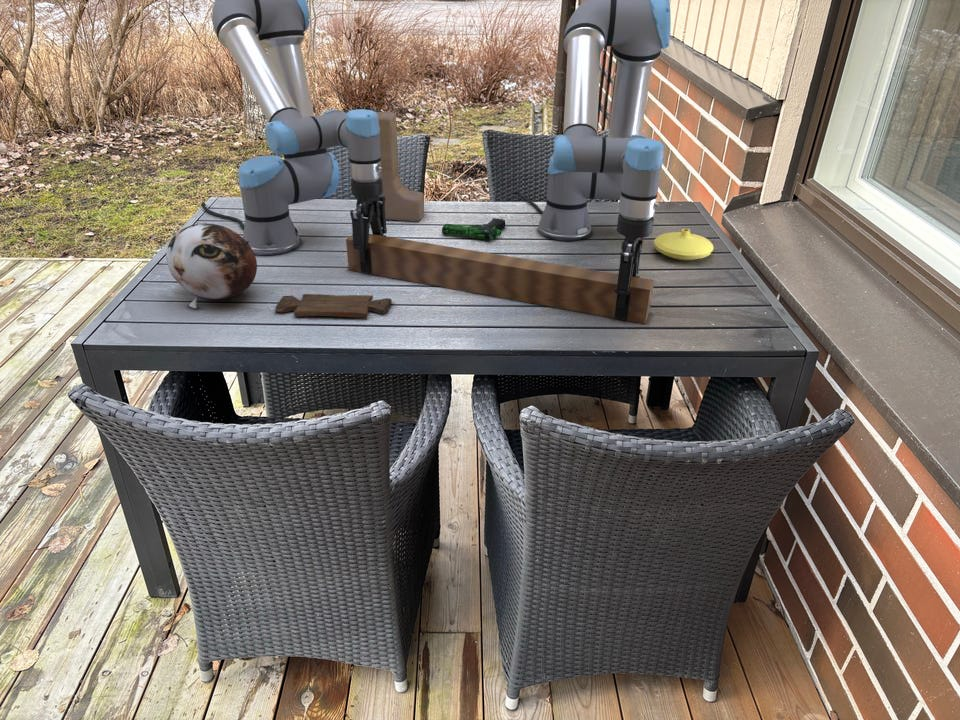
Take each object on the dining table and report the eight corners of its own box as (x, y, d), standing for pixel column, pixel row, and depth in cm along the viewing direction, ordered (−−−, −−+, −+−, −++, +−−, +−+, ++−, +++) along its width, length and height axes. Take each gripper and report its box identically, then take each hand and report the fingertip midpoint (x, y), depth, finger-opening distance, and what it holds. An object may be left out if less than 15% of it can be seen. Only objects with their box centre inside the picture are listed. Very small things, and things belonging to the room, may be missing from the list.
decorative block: (419, 222, 214) (416, 119, 199) (370, 219, 216) (364, 116, 200) (424, 214, 220) (422, 113, 205) (377, 211, 222) (371, 111, 207)
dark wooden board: (386, 320, 160) (392, 301, 168) (386, 314, 159) (392, 294, 168) (271, 316, 160) (283, 297, 169) (270, 309, 159) (282, 290, 168)
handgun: (511, 219, 210) (493, 234, 198) (511, 228, 211) (492, 244, 199) (461, 212, 215) (440, 226, 203) (461, 221, 217) (440, 236, 204)
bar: (348, 270, 183) (345, 238, 179) (359, 261, 187) (356, 231, 183) (645, 323, 160) (650, 289, 156) (649, 313, 164) (654, 279, 160)
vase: (666, 239, 204) (669, 216, 201) (720, 252, 197) (724, 228, 193) (642, 256, 193) (646, 231, 190) (698, 270, 185) (703, 245, 182)
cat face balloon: (130, 285, 161) (164, 203, 163) (192, 308, 177) (221, 233, 178) (195, 307, 151) (229, 220, 152) (254, 330, 166) (285, 250, 168)
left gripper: (360, 191, 163) (367, 284, 175) (398, 169, 178) (401, 256, 190) (332, 187, 165) (340, 279, 177) (371, 166, 180) (376, 252, 192)
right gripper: (646, 232, 143) (631, 333, 155) (661, 204, 158) (646, 298, 170) (609, 227, 145) (597, 327, 157) (627, 199, 160) (615, 293, 172)
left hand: (372, 267), depth 183 cm, fingers closed on bar, 6 cm apart
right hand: (623, 312), depth 164 cm, fingers closed on bar, 6 cm apart
